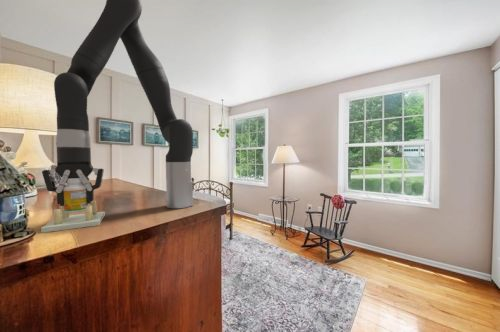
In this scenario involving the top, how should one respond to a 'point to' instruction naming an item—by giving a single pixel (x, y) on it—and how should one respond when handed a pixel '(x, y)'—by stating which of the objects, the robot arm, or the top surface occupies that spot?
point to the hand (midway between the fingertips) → (76, 204)
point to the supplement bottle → (75, 196)
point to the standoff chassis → (74, 219)
